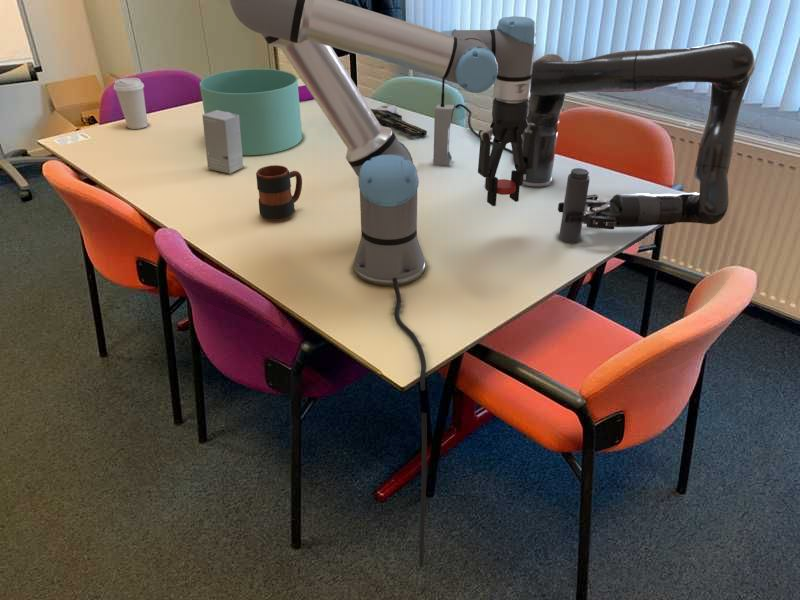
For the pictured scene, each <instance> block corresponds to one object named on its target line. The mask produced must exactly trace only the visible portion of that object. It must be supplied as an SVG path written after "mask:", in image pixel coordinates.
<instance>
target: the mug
mask: <svg viewBox="0 0 800 600" xmlns="http://www.w3.org/2000/svg"><path fill="white" fill-rule="evenodd" d="M255 176H256V178H255V179H256V187H257V188H256V189H257V190H258V211H259V215H260V217H261V218H262V219H263V220H264V221H267V222H272V223H273V222H275V223H276V222H277V223H278V222H283V221H287V220H289V219H291V218H292V217H293V215H294V213H295V211H296V210H295V209H296V208H295V203H296V202H298V200H299V199H300V197H301V194H302V187H303V177H302V174H301V173H300V172H299V171H298V170H291V171H289V169H288V167H286V166H283V165H277V164H274V165H268V166H263V167H260V168H259V169H257V171H256V173H255ZM294 177H295V189H294V192H293V194H292V188H291V187H292V182H291V179H292V178H294Z"/></svg>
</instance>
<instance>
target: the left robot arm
mask: <svg viewBox="0 0 800 600" xmlns="http://www.w3.org/2000/svg"><path fill="white" fill-rule="evenodd" d="M229 4H230V7H231V9H232V12H233V14H234V15H235V17H236V19H238V21H239V22H240V23H241V24H242V25H243V26H244V27H246V28H247V29H249V30H251V31H253V32H255V33H258V34H260V35H262V37H263V39H264V40H265V42H266V43H267V44H268V46H271V47H274V48H278V49H279V50H281V51H282V53H283V55H285V57H286V59H287V60H288V61H289V63H290V65H291V66H292V68H293V69H294V70H295V72H296V73H297V75H298V76H299V78H300V80H301V81H302V83H303V84H304V85H306V87H307V88H308V90H309V91H310V93H311V94H312V96H313V97H314V100H315V102H316V103H317V105H318V106H319V108H320V109H321V111H322V112H323V114H324V116H325V117H326V119H327V120H328V121H329V123H330V124H331V126H332V128H334V130H335V132H336V134H337V135H338V136H339V137H340V140H341V141H342V143H343V144H344V145H345V147H346V149H347V150H346V156H345V159H346V161H347V162H348V164H349V165H350V167H351V168H352V170H353V172H354V173H355V175H356V176H357V177H358V178H357V179H358V188H359V205H360V207H359V208H360V211H359V212H360V239H359V242H358V247H357V249H356V252H355V256H354V259H353V270H354V273H355V275H356V276H357V277H358V278H359V279H360V280H362V281H364V282H366V283H369V284H370V285H371V284H372V285H376V286H382V287H393V288H394V292H395V298H396V303H395V308H394V319H395V322H396V323H397V325H398V326H399V327H400V329H402V330H403V331H404V332H405V333H406V334H407V335H408V336H409V337H410V338H411V340H412V341H413V344H414V345H415V347H416V350H417V352H418V356H419V360H420V375H419V386H420V387H419V389H420V391H422V392H425V390H426V373H427V361H426V355H425V352H424V349H423V347H422V345H421V343H420V341H419V339H418V338H417V335H415V333H414V332H413V331H412V330H411V329H410V328H409V327H408V326H407V325H406V324H405V323H404V322H403V321H402V320H401V317H400V309H401V303H402V296H401V292H400V288H399V286H402V285H406V284H410V283H413V282H415V281H417V280H418V279H420V278H421V276H423V274H424V273H425V270H426V261H425V255H424V252H423V250H422V247H421V244H420V241H419V238H418V188H419V184H420V183H419V182H420V181H419V175H418V169H417V167H416V165H415V164H414V161H413V157H412V154H411V152H410V150H409V149H408V148H407V146H406V145H404V143H403V142H401V141H400V140H399V139H398V137H397V136H396V134H395V132H394V131H393V129H392V127H390V126H383V125H381V124H380V123H379V122H378V120H377V119H376V117H375V115H374V114H373V112H372V111H371V109H372V108H371V107H370V106H369V104H368V103H367V101H366V99H365V98H364V96H363V95H362V93H361V91H360V90H359V88H358V87H357V85H356V83H355V82H354V80H353V79H352V77H351V75H350V74H349V73H348V71H347V69H346V67H345V65H344V64H343V62H342V61H341V60H340V58H339V57H338V54H337V53H336V52H335V50H334V49H338V50H342V51H345V52H347V53H351V54H355V55H359V56H362V57H366V58H369V59H373V60H376V61H380V62H383V63H386V64H390V65H393V66H396V67H400V68H404V69H407V70H410V71H414V72H418V73H421V74H423V75H428V76H431V77H435V78H438V79H444V80H445V81H447V82H450V83H454V84H457V85H458V86H459V87H461V88H462V89H463V90H465V91H466V92H469V93H472V94H479V93H484V92H485V91H487V90H489V89H490V88H491V87H492V86H493V92H492V95H493V96H492V97H494V98H493V100H492V109H491V118H492V121H491V124H490V126H489V128H487V129H485V130H483V129H479V131H478V132H477V134H479V137H478V139H479V152H478V163H477V164H478V165H477V174H479V175H480V176H482V177H483V178H485V180H484V183H485V184H484V189H485V191H487V197H486V202H487V203H488V204H489V205H490V206H491V207H497V196H498V194H497V184H498V180H499V178H498V177H497V176H496V175H497V171H498V168H499V165H500V161H501V158H502V155H503V151H504V150H503V149H505V148H507V145H508V144H509V143H510V146H511V150H512V153H513V154H512V158H513V164H514V169H513V170H511V174H510V180H511V181H513V182H515V183H516V191H515V192H514V193H512V194H509V196H508V197H509V199H511V200H512V201H514V202H519V200H520V199H519V198H520V189H521V187H522V186H523V176H524V175H525V174H526V173H527V169H531V168H532V166H533V155H534V144H535V135H536V133H537V130H538V126H537V125H535V124H533V123H531V122H530V123H528V122H527V119H526V118H527V117H528V110H529V98H530V94H531V93H530V88H531V77H532V67H533V62H534V57H535V49H536V45H537V43H536V39H537V38H536V35H537V24H536V22H535V20H533V18H531V17H526V16H518V15H517V16H514V15H513V16H504V17H501V18H500V19H499V20H498V22H497V23H498V24H497V26H496V28H493V29H452V30H441V31H437V30H435V29H432V28H428V27H424V26H422V25H418V24H415V23H412V22H408V21H406V20H403V19H400V18H396V17H392V16H389V15H386V14H382V13H381V12H380V13H379V12H376V11H372V10H369V9H366V8H363V7H360V6H356V5H353V4H350V3H346V2H343V1H340V0H229ZM524 131H525V134H524V145H523V151H522V144H523V143H522V134H523V132H524ZM492 135H493V138H492ZM492 139H493V140H492ZM490 141H491V142H493V145H491V142H490ZM491 146H492V147H491ZM427 459H428V413H427V412H421V478H420V479H421V484H420V515H419V516H420V517H419V520H420V521H419V551H418V553H419V554H418V556H419V558H418V567H419V568H423V567H424V558H425V557H424V554H425V525H426V524H425V522H426V499H427V496H426V495H427V468H428V467H427V463H428V461H427Z"/></svg>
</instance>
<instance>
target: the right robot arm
mask: <svg viewBox="0 0 800 600" xmlns="http://www.w3.org/2000/svg"><path fill="white" fill-rule="evenodd" d="M755 65H756V62H755V56H754V52H753V50H752V49H751V48H750V47H749V45H747V44H746V43H743V42H741V41H736V40H735V41H734V40H733V41H732V40H731V41H724V42H719V43H713V44H707V45H701V46H695V47H688V48H655V49H634V50H621V51H617V52H611V53H607V54H603V55H598V56H594V57H590V58H587V59H582V60H573V61H571V60H570V61H569V60H567V61H566V60H564V58H563V57H562V56H560V55H559V54H554V53H548V54H545V55H542V56H541V57H538V58H537V59H536V60H533V67H532V77H531V88H530V97H529V98H528V100H529V110H528V117H527V118H526V119H527V122H528V123H530V122H531V123H533V124H535V125H537V126H538V130H537V133H536V135H535V144H534V155H533V166H532V168H531V169H527V173H526V174H525V175H524V176H523V184H522V186H526V187H533V188H541V187H546V186H547V187H548V186H549V185H551V183H552V181H553V171H554V170H553V169H554V162H555V155H556V147H557V141H558V133H559V124H560V117H561V114H562V111H563V108H564V104H565V98H566V94H572V93H573V94H574V93H629V92H630V93H632V92H645V91H651V90H656V89H660V88H664V87H667V86H671V85H674V84H675V85H676V84H682V83H707V84H710V101H709V110H708V114H707V118H706V122H705V126H704V128H703V132H702V135H701V138H700V142H699V146H698V150H697V155H696V160H695V165H694V174H693V175H694V178H695V180H697V181H698V182H699V192H688V193H679V194H674V193H658V194H657V193H656V194H653V193H652V194H651V193H620V194H619V193H618V194H617V193H616V194H614V195H613V196H612V198H611V199H609V200H605V199H598V198H599V195H598V194H596V193H595V194H587V198H586V204H585V210H584V212H583V214H582V212H567V213H565V217H564V221H565V222H566V223H572V222H581V223H582V225H585V226H586V228H591V229H601V230H602V229H603V230H604V229H605V230H614V229H615V228H636V227H637V228H638V227H639V228H640V227H642V228H643V227H649V226H663V225H664V226H668V225H674V224H677V223H678V224H679V223H681V224H682V223H689V224H691V223H692V224H693V223H694V224H702V225H714V224H718V223H719V222H720V221H722V220H723V218H724V217H725V216H726V214H727V211H728V208H729V197H730V196H729V181H728V174H729V170H730V165H731V159H732V154H733V148H734V143H735V135H736V129H737V122H738V118H739V113H740V109H741V106H742V102H743V99H744V97H745V96H744V95H745V94H746V90H747V87H748V85H749V82H750V80H751V78H752V75H753V74H754V71H755ZM459 107H461V108H462V109H464V110H465V111H466V112H467V113H468V117H467V125H468V127H469V130H470V132H471V133H472V134H473V135H475V136H476V137H477V138H479V134H478V132H476V131H475V130H474V128H473V127H472V123H471V117H472V115H473V114H472V111H471V110H470V109H469V107H467V106H466V105H464V104H462V103H458V104H456V105H455V108H456V109H457V108H459ZM524 134H525V131H524V132H523V134H522V135H521V136H522V143H523V144H522V151H523V145H524ZM490 142H491V146H493V141H492V140H490ZM503 151H505V152H508V153H510V154H511V155H513V153H512V149H510V148H507V147H505V149H503ZM563 207H564V202H559V203H557V211H558V212H559V213H563ZM588 209H589V210H588Z"/></svg>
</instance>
